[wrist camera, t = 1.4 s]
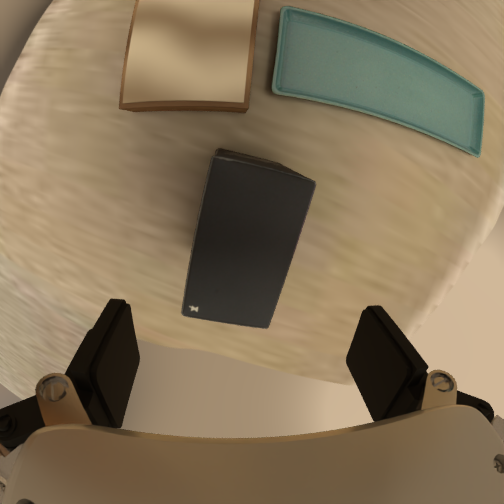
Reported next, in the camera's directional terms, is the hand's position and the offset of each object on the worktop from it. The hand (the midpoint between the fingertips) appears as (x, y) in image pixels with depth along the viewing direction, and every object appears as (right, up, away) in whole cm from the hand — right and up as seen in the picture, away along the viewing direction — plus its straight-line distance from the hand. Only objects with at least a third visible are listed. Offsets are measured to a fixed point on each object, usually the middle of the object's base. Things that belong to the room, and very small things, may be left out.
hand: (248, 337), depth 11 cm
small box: (-1, +7, +16) cm, 17 cm away
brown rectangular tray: (-5, +22, +9) cm, 24 cm away
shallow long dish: (+15, +20, +12) cm, 28 cm away
